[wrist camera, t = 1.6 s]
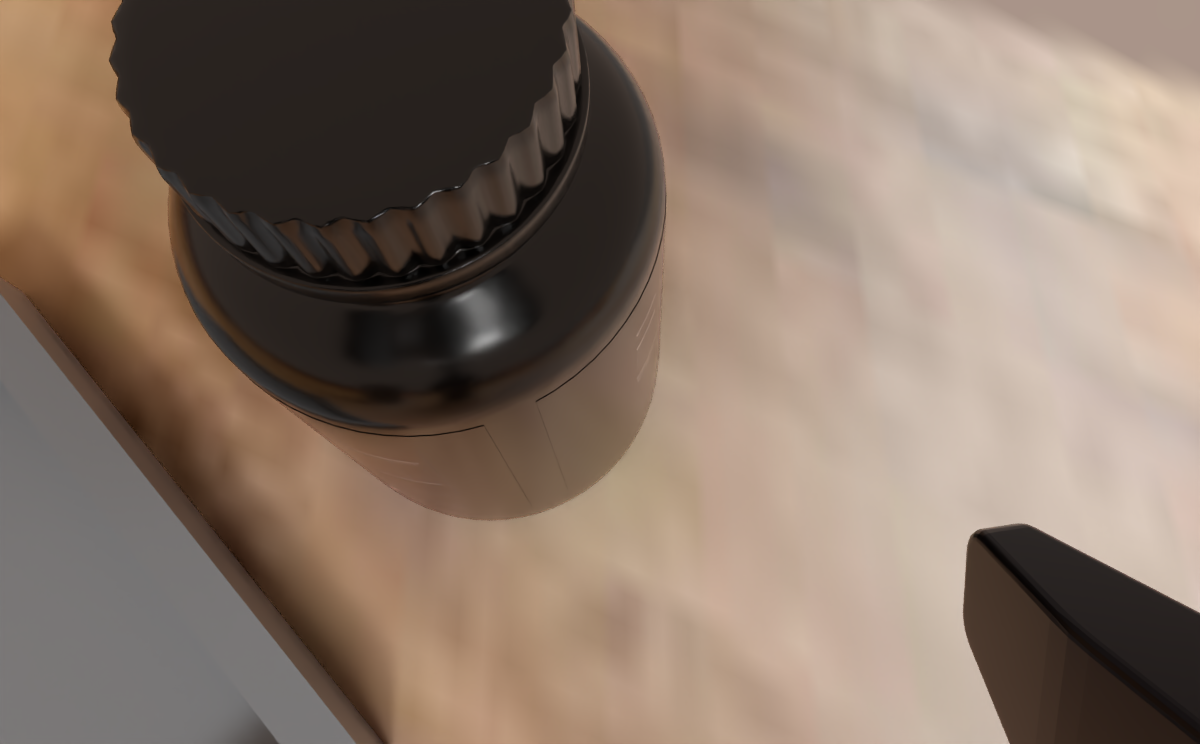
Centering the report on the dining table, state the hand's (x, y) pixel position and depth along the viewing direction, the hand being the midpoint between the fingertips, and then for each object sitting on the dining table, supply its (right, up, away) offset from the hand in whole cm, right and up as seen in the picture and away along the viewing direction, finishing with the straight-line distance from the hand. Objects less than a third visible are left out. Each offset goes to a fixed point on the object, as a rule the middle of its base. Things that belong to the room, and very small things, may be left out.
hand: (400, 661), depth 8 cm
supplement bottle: (-1, +2, +14) cm, 14 cm away
